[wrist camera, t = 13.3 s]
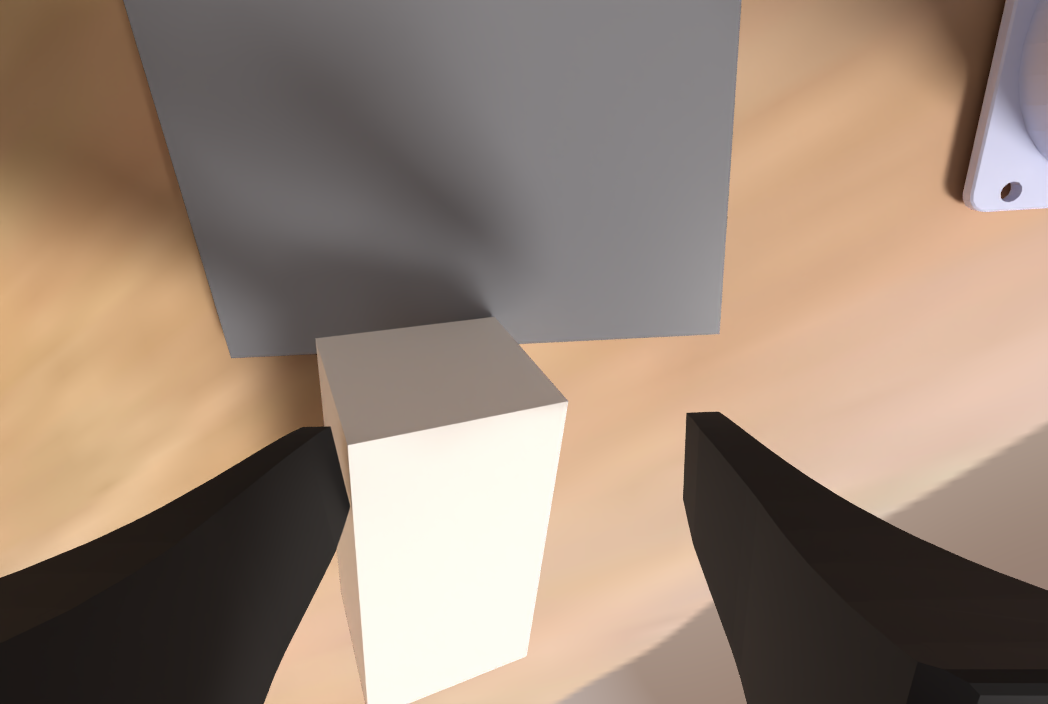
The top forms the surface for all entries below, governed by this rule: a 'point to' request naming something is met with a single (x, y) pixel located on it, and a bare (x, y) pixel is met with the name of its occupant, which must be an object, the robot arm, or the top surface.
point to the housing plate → (450, 162)
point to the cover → (439, 498)
